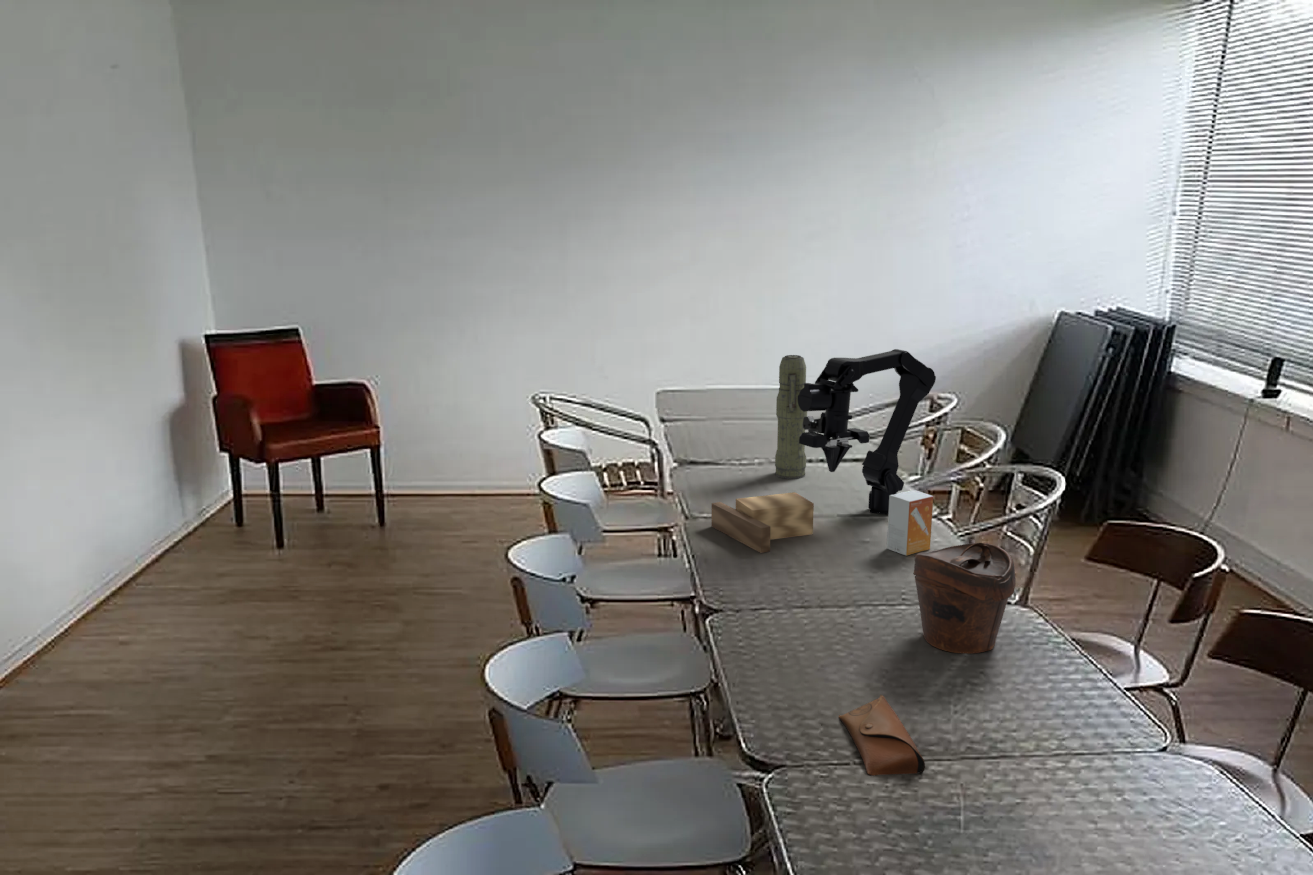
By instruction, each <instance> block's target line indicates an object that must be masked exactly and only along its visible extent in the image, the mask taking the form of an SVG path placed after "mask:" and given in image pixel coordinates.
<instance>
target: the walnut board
mask: <svg viewBox="0 0 1313 875" xmlns="http://www.w3.org/2000/svg"><path fill="white" fill-rule="evenodd" d="M710 522H711V524H710V525H711V527H712V528H713V529H716V530H717V531H719V532H721V533H722V534H725V535H726V536H728V537H730V538H732V539H734V540H735V541H738V542H739V543H741V544H743V545H745V546H747V547H749V548H751V549H752V550H754V551H755V552H758V553H760V554H763V553H769V552H771V540H770V528H771V527H770V526H768V525H766V524H764V523H762V522H760V521H758V520H756V519H754V518H752V517H750V516H748V515H746V514H744V513H742V512H740V511H738V510H736V508H734V507H731V506H729V505H728V504H725V503H723V502H722V501H717V502H712V503H711V521H710Z"/></svg>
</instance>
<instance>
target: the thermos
mask: <svg viewBox="0 0 1313 875" xmlns="http://www.w3.org/2000/svg"><path fill="white" fill-rule="evenodd" d="M778 367H779V369H778V370H779V371H778V372H779V373H778V375H779V376H778V383H779V388H778V393H777V395H776V407H775V408H776V410H775V414H776V418H777V439H776V440H777V441H776V442H777V447H776V452H775V457H774V467H775V476H776V477H778V478H781V479H786V480H787V479H788V480H795V479H796V480H797V479H801V478H804V477H805V476H806V467H807V454H806V452H805V451H806V450H805V446H806V445H802V444H799V437H800V435H801V434H802V433H804V432H806V430H804V428H803V419H804V417H807V416H808V411H805V412H804V411H802V410H801V409H800V407H799V405H798V395H799V393H800V391H801V390H802V389H803V388H804V384H805V383H807V382H806V381H807V365H806V361H805V358H804V357H803V356H801V355H797V354H789V355H788V354H787V355H784V356H782V358H781V360H780V363H779V366H778Z"/></svg>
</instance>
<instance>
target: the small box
mask: <svg viewBox="0 0 1313 875" xmlns="http://www.w3.org/2000/svg"><path fill="white" fill-rule="evenodd" d="M933 507H934V496H933V495H931V494H927V493H925V492H922V491H919V490H916V489H911V490H908V491H900V492H897V494H894V495H890V496H889V513H888V514H887V515H888V516H887V517H888V520H887V535H886V536H887V538H886V549H887V550H890V551H893V552H895V553H898V554H900V555H903V556H906V557H907V556H909V555H913V554H918V553H922V552H925V551H929V550H931V541H932V540H931V538H932V524H933V523H932V522H933Z"/></svg>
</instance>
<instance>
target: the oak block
mask: <svg viewBox="0 0 1313 875" xmlns="http://www.w3.org/2000/svg"><path fill="white" fill-rule="evenodd" d="M814 506H815V504H814V502H812V501H811V500H808V499H807V498H806V497H803V496H802V495H800V494H799V493H797V492H795V491H794V492H786V493H785V492H783V493H776V494H769V495H768V494H767V495H760V496H751V497H748V496H747V497H740V498H735V509H736V510H738V511H740V512H742V513H744V514H746V515H748V516H750V517H752V518H754V519H756V520H758V521H760V522H762V523H764V524H766V525H768V526H770V527H771V528H770V541H771V540H778V539H785V538H792V537H801V536H808V535H813V534H814V510H815V508H814Z"/></svg>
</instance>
